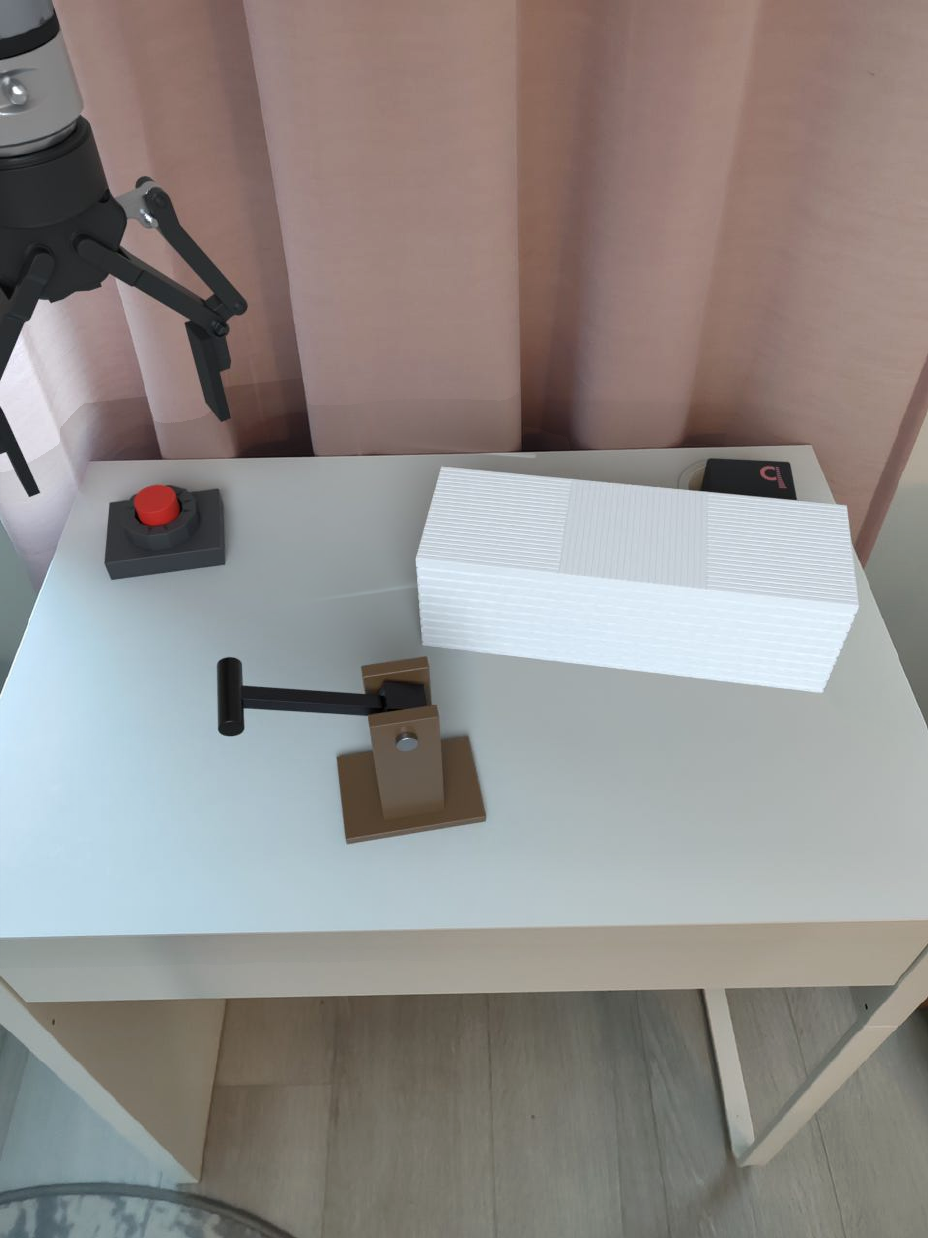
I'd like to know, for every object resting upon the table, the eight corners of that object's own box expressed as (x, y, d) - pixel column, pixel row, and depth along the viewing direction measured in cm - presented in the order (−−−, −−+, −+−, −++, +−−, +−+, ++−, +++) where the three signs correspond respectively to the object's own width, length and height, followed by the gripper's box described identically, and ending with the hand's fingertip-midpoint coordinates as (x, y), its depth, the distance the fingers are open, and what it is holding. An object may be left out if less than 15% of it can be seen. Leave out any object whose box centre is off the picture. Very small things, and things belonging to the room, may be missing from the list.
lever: (214, 740, 60) (221, 716, 58) (213, 675, 63) (219, 651, 62) (421, 750, 65) (432, 728, 63) (410, 689, 68) (421, 667, 66)
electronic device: (706, 581, 87) (716, 540, 83) (698, 498, 94) (707, 457, 90) (792, 585, 86) (806, 544, 83) (778, 502, 93) (791, 461, 90)
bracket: (347, 848, 71) (325, 747, 61) (338, 766, 75) (316, 660, 65) (486, 825, 72) (486, 722, 62) (468, 745, 76) (466, 638, 66)
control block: (111, 580, 88) (97, 548, 85) (115, 519, 93) (103, 487, 90) (225, 565, 89) (216, 532, 86) (223, 505, 94) (214, 473, 91)
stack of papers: (422, 649, 82) (415, 558, 74) (445, 558, 89) (441, 465, 81) (820, 697, 78) (859, 606, 70) (812, 598, 85) (846, 504, 77)
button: (138, 529, 87) (132, 514, 86) (139, 502, 90) (134, 487, 88) (179, 523, 88) (175, 509, 86) (180, 496, 90) (175, 482, 89)
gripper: (-231, 224, 46) (-44, 551, 62) (261, 91, 54) (314, 408, 70) (-256, 164, 50) (-74, 485, 66) (205, 49, 58) (267, 357, 74)
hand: (126, 446), depth 68 cm, fingers open, 13 cm apart
